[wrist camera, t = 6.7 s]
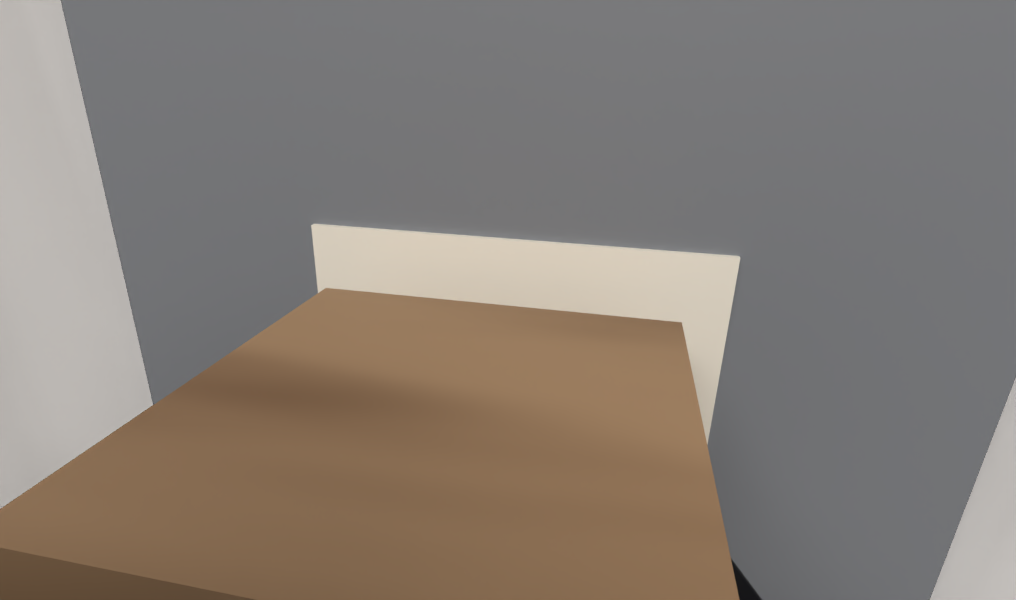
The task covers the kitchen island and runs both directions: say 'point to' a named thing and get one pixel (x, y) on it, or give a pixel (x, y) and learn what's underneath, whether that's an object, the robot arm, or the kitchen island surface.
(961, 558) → the kitchen island surface
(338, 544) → the walnut block
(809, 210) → the baseplate
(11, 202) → the kitchen island surface
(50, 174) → the kitchen island surface
